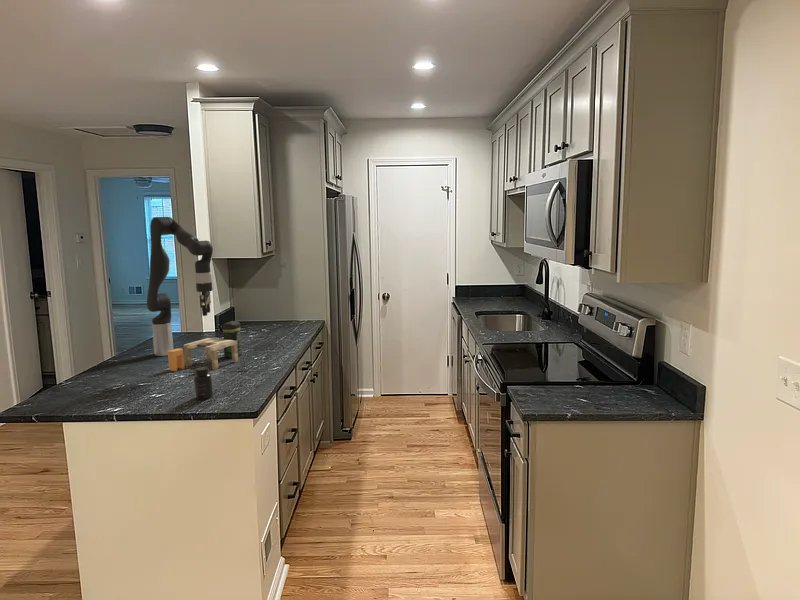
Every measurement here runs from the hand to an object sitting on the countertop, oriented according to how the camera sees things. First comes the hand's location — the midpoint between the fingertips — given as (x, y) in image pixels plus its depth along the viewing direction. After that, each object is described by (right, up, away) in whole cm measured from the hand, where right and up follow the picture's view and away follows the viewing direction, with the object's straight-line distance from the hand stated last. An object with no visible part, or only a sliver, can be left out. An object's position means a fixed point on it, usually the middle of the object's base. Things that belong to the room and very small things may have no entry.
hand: (206, 314), depth 265 cm
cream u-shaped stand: (+2, -25, +4) cm, 25 cm away
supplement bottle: (+17, -33, -49) cm, 61 cm away
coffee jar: (+8, -23, +18) cm, 30 cm away
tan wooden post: (-12, -27, -5) cm, 30 cm away
